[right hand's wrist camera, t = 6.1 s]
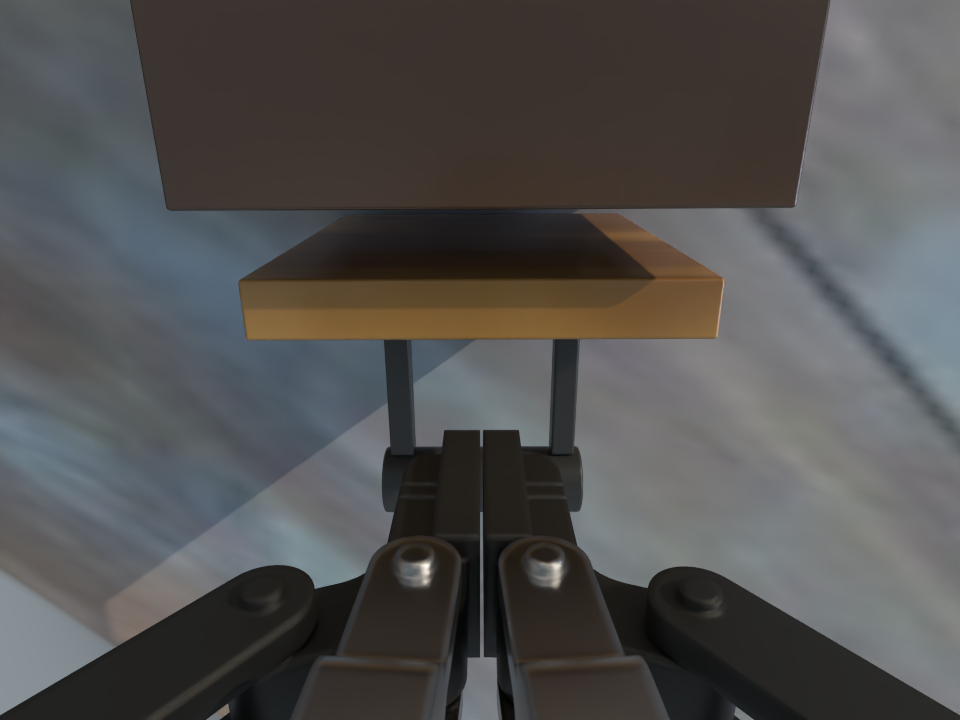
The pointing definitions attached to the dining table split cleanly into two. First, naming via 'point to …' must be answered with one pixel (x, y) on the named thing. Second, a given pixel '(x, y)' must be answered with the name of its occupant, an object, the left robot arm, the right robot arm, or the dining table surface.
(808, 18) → the cabinet
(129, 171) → the dining table surface
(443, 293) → the drawer
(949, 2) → the dining table surface
